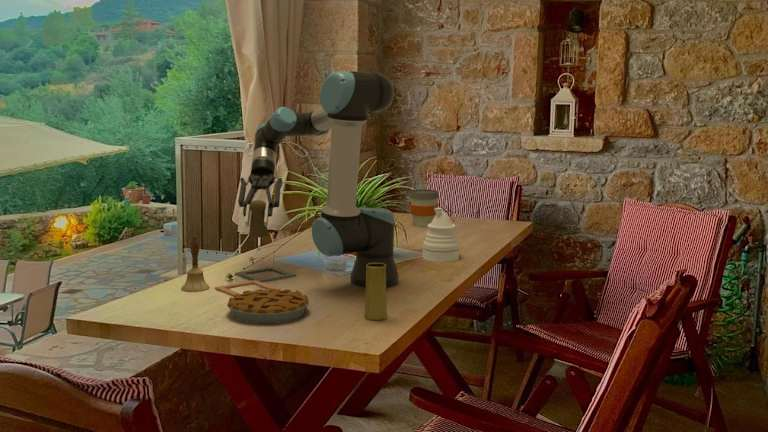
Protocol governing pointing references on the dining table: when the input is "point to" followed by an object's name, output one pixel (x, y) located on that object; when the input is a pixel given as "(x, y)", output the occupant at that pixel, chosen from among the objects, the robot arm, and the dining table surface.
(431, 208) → the reusable coffee cup
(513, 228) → the dining table surface
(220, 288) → the frame
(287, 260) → the dining table surface
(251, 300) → the pie
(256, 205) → the cork
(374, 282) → the vase
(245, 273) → the frame
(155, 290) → the dining table surface
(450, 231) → the honey pot
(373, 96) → the robot arm
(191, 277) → the hand bell
